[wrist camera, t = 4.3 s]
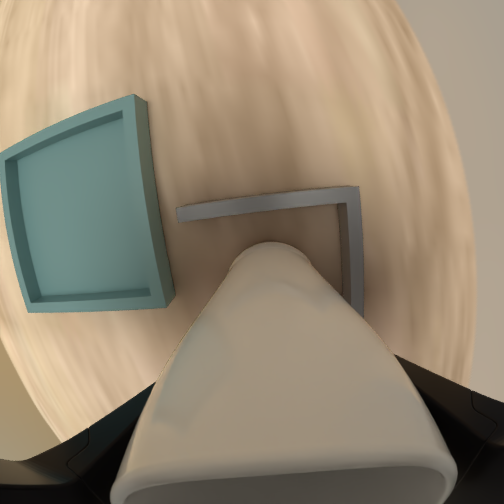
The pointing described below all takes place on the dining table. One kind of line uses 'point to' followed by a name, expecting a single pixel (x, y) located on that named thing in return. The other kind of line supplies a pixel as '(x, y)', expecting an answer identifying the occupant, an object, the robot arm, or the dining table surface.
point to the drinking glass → (283, 403)
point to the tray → (87, 213)
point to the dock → (300, 198)
